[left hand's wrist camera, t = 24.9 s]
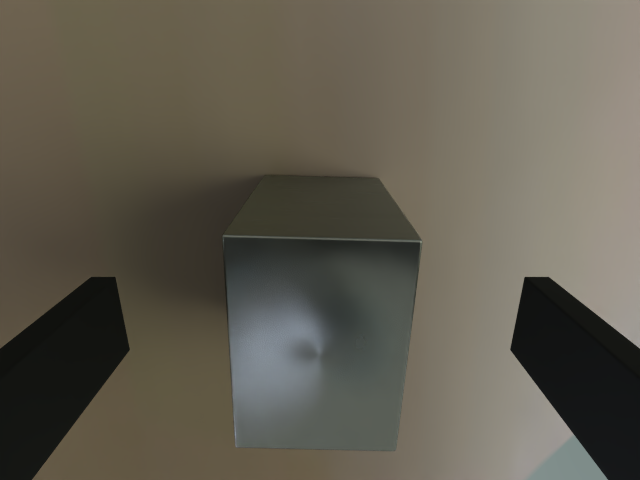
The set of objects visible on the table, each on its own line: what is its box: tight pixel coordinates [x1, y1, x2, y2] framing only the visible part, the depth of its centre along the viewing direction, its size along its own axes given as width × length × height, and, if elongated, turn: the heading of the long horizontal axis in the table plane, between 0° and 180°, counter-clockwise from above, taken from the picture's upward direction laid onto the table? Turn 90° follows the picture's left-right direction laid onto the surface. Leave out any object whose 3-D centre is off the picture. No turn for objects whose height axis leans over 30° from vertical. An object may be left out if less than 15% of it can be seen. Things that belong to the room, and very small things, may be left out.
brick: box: [222, 175, 422, 451], centre depth 14 cm, size 7×5×8 cm
